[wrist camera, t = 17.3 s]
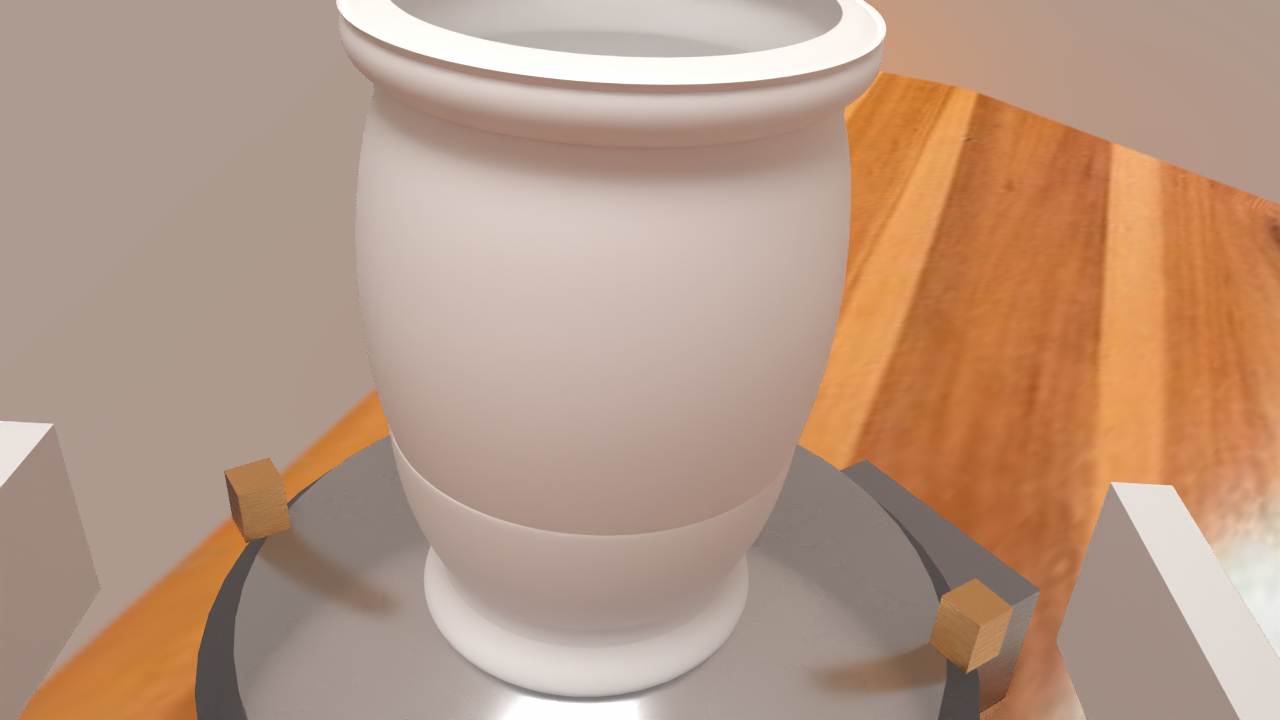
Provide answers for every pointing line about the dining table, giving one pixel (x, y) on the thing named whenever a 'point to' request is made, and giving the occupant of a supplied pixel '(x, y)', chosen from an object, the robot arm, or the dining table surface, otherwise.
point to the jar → (600, 305)
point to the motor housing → (657, 716)
